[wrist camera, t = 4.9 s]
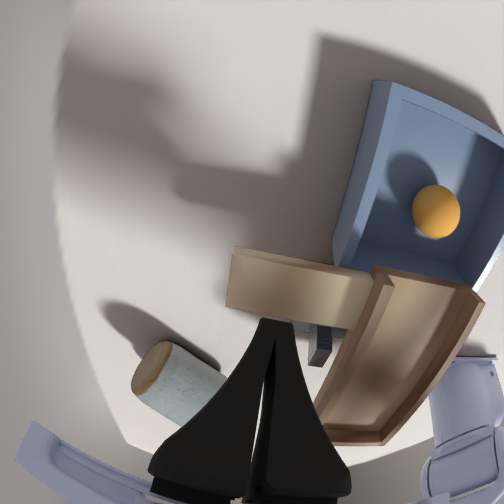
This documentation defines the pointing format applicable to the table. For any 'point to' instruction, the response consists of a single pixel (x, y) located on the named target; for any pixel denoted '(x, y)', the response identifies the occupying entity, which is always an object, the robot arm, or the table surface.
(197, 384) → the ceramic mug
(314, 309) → the tilt ramp
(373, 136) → the bin
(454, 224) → the orange ball
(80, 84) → the table surface
